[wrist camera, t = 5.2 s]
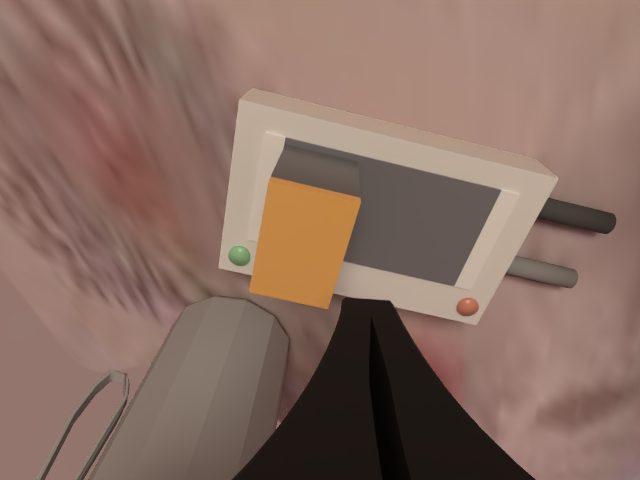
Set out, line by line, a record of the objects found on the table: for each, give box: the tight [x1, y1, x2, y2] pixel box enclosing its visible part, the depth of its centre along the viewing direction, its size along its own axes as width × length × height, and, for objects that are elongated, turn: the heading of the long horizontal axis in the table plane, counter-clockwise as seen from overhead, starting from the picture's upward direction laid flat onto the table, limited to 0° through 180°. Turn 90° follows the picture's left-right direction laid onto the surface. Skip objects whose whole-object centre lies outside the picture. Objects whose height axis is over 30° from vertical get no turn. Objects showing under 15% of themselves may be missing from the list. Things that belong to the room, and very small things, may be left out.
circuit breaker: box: [219, 88, 559, 325], centre depth 19 cm, size 13×8×3 cm, turn 77°
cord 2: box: [506, 256, 578, 288], centre depth 21 cm, size 5×1×1 cm, turn 77°
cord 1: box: [537, 198, 616, 234], centre depth 19 cm, size 5×1×1 cm, turn 77°
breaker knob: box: [249, 145, 361, 309], centre depth 16 cm, size 3×4×4 cm, turn 167°
